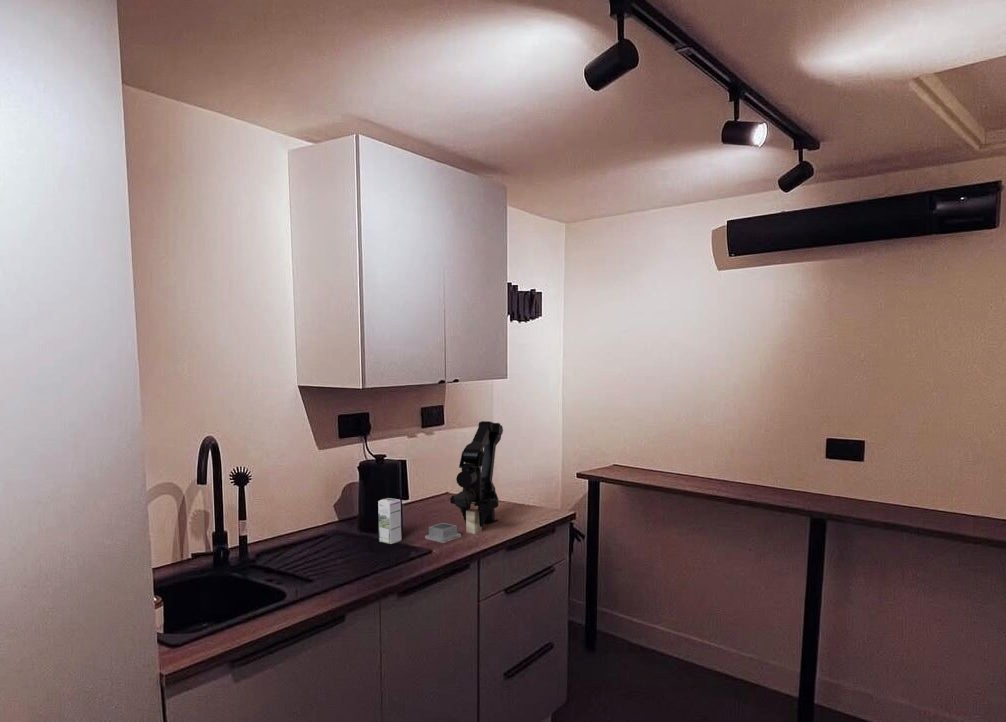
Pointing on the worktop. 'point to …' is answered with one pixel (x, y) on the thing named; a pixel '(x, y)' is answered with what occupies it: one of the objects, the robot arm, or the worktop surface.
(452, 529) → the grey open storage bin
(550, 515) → the worktop surface
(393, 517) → the syrup box
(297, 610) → the worktop surface
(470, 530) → the beige rectangular block
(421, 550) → the worktop surface
